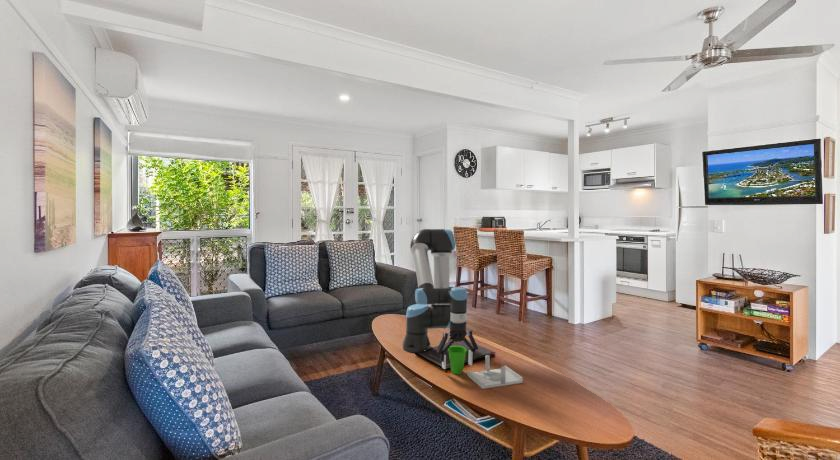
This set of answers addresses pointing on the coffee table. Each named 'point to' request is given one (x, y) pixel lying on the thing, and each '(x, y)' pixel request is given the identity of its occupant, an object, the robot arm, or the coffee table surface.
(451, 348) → the cup
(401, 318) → the coffee table surface
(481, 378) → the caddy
